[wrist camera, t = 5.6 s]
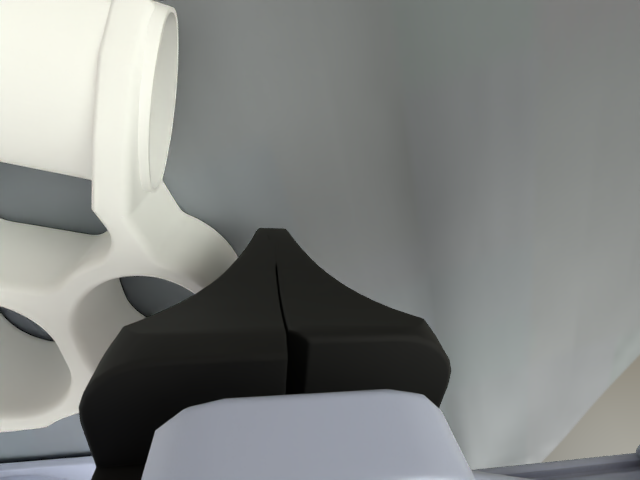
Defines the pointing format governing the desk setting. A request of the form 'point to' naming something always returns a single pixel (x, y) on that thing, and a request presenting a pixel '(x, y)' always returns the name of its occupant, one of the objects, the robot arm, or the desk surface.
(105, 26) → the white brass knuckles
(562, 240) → the desk surface
